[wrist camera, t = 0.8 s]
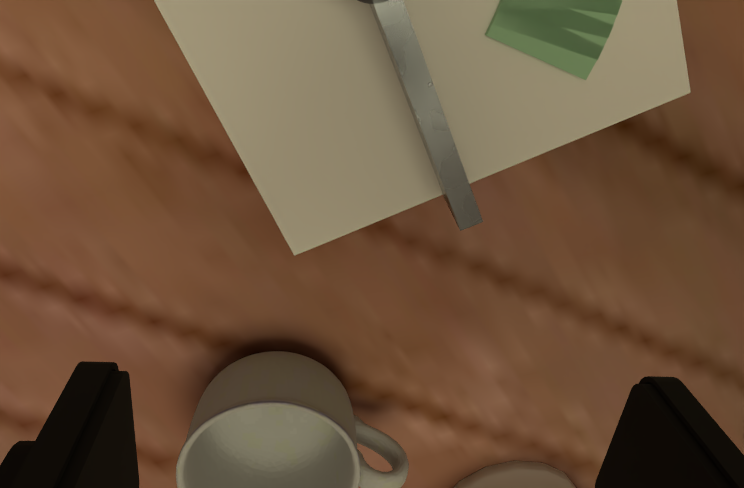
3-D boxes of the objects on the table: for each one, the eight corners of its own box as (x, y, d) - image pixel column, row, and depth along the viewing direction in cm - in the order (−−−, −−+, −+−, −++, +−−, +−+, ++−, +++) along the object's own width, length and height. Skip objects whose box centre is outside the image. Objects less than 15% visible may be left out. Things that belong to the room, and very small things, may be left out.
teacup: (180, 426, 42) (152, 524, 35) (227, 306, 38) (206, 389, 31) (359, 471, 46) (367, 568, 39) (420, 365, 41) (441, 452, 34)
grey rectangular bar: (481, 185, 33) (501, 213, 30) (428, 206, 33) (441, 238, 30) (385, -93, 27) (395, -99, 23) (320, -62, 27) (320, -63, 23)
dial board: (675, 86, 34) (694, 94, 32) (295, 244, 36) (294, 259, 35) (603, -355, 25) (624, -377, 23) (105, -106, 27) (91, -109, 26)
